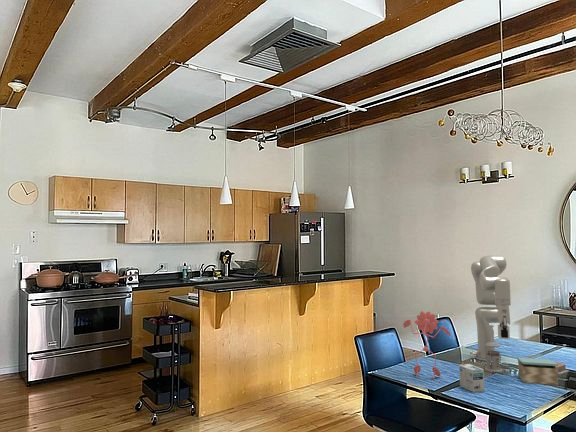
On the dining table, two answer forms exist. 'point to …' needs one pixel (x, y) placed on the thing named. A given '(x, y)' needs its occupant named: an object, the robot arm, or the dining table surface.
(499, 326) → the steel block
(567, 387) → the dining table surface
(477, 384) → the light bulb box
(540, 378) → the storage box
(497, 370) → the french press
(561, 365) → the packaged product
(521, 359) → the lid
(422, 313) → the figurine
